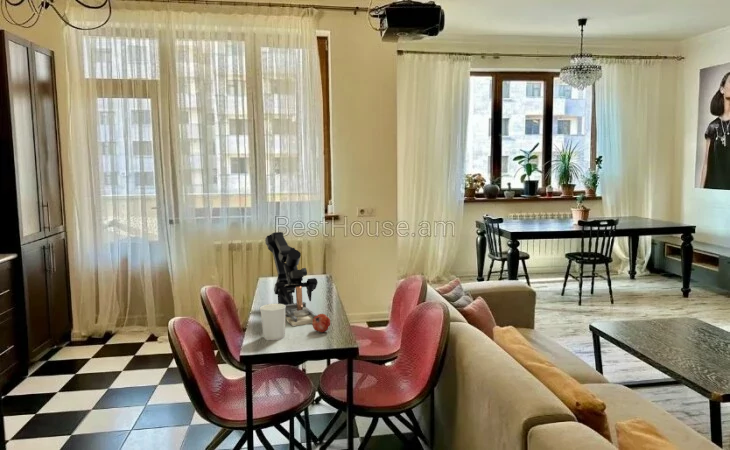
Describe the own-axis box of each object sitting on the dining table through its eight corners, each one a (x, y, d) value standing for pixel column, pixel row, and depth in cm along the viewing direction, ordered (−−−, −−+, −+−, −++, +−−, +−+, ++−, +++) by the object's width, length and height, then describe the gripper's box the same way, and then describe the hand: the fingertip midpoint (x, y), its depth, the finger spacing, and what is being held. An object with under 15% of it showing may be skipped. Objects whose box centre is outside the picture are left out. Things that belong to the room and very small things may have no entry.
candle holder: (265, 342, 192) (264, 311, 191) (258, 335, 201) (256, 305, 199) (290, 338, 197) (289, 307, 195) (282, 331, 205) (281, 302, 204)
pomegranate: (318, 333, 208) (303, 323, 201) (327, 317, 210) (312, 307, 204) (330, 339, 203) (315, 329, 196) (339, 322, 205) (325, 312, 198)
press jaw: (291, 314, 223) (289, 286, 221) (306, 312, 225) (304, 284, 224) (293, 317, 219) (292, 288, 218) (308, 314, 222) (307, 286, 220)
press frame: (281, 315, 229) (280, 305, 228) (307, 311, 233) (306, 301, 233) (292, 326, 212) (291, 315, 211) (319, 321, 216) (319, 311, 216)
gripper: (274, 264, 220) (281, 294, 211) (315, 260, 227) (324, 289, 218) (270, 279, 228) (278, 309, 219) (310, 274, 235) (319, 303, 226)
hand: (300, 302), depth 220 cm, fingers open, 9 cm apart
